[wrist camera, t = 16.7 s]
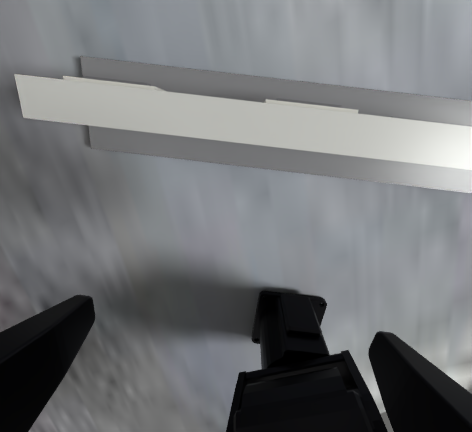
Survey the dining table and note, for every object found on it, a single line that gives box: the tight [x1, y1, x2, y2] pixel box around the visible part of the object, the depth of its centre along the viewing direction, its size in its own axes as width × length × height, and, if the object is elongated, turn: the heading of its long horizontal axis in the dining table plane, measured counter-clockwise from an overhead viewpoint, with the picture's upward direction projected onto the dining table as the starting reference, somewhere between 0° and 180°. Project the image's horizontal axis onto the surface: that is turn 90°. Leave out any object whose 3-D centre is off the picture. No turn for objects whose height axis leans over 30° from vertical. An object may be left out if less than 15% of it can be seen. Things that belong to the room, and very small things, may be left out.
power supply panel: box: [14, 56, 472, 193], centre depth 14 cm, size 6×30×6 cm, turn 84°
